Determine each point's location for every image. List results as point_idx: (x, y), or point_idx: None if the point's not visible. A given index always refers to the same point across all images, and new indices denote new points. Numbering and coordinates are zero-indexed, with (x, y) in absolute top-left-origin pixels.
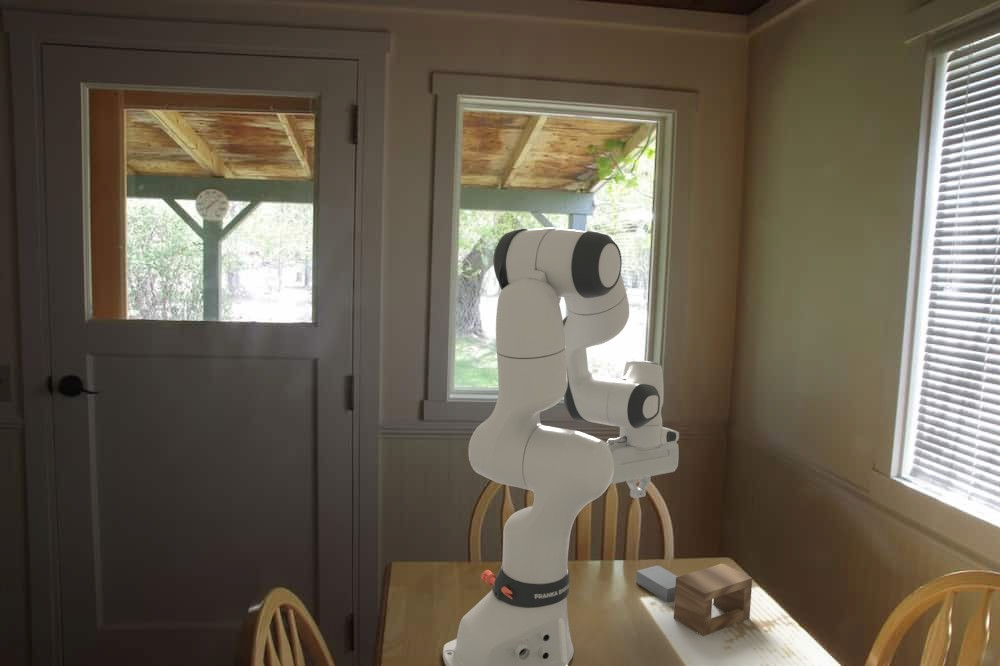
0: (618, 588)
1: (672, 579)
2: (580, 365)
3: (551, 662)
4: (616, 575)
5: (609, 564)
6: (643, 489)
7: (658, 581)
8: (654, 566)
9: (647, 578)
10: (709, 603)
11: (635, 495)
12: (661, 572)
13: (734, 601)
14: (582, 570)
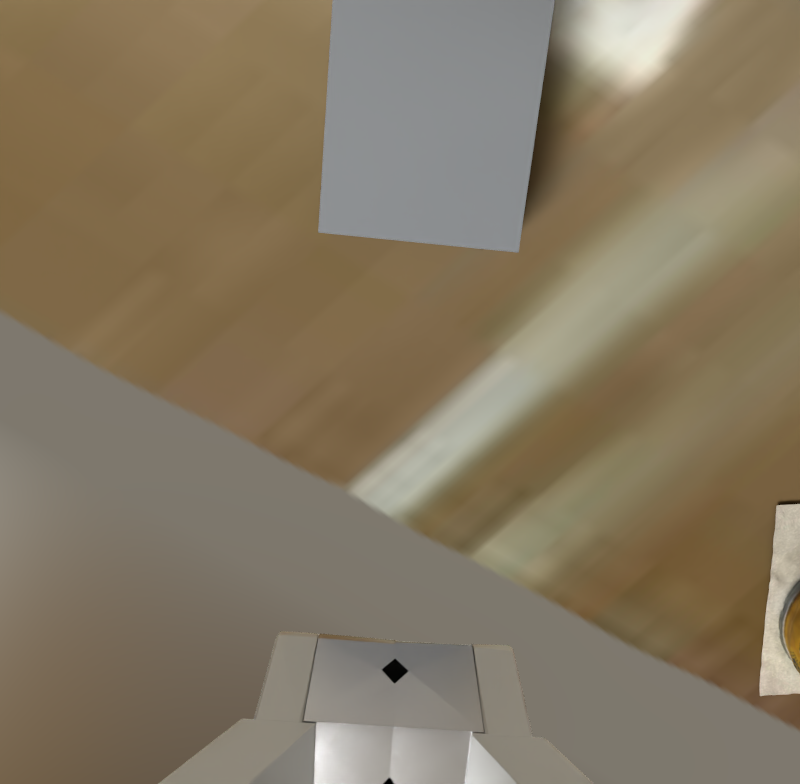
0: (659, 249)
1: (406, 2)
2: None
3: None
4: (534, 375)
5: (459, 496)
6: (325, 719)
7: (520, 42)
8: (356, 230)
9: (533, 136)
10: None
11: (517, 676)
12: (386, 134)
13: None
14: (652, 521)
